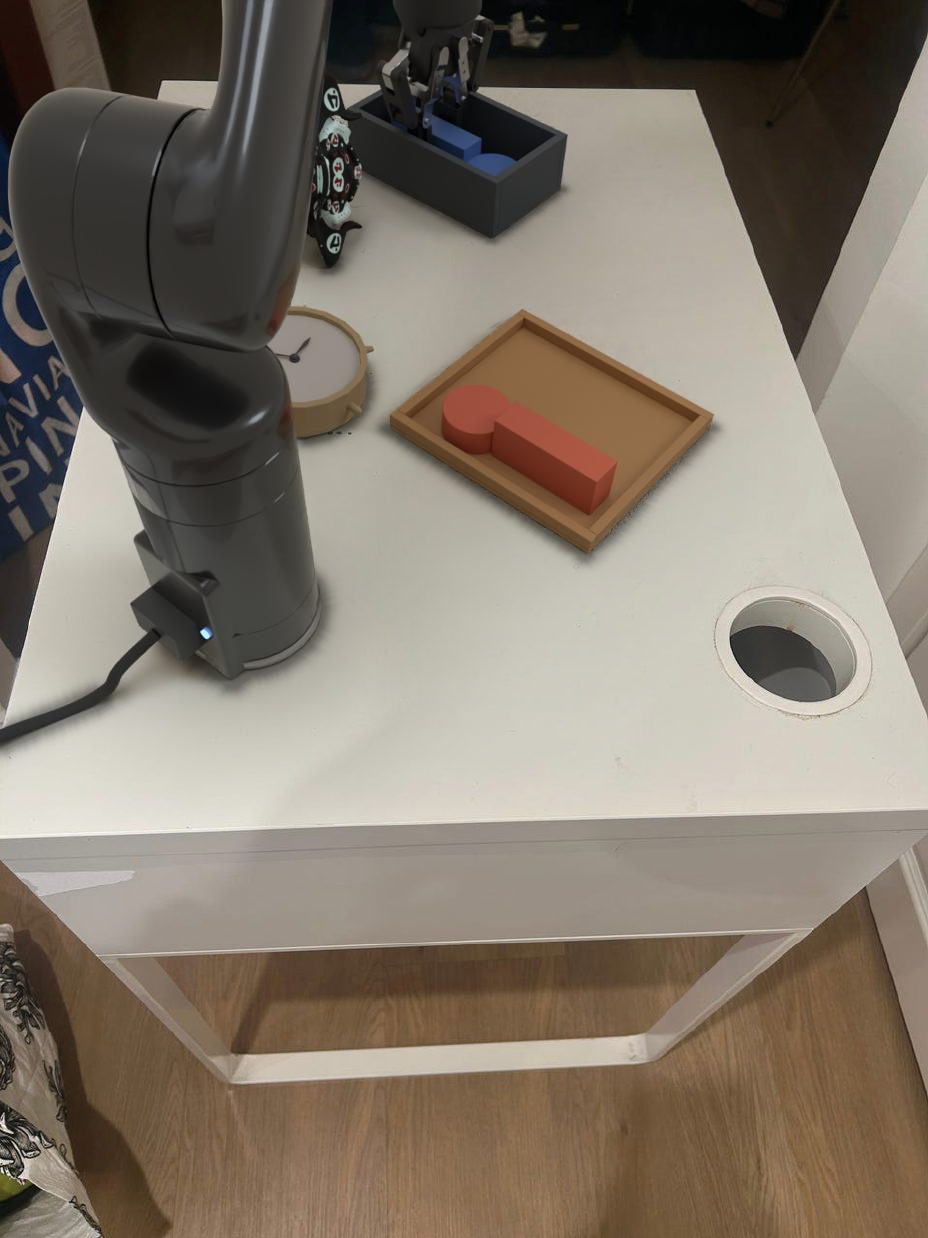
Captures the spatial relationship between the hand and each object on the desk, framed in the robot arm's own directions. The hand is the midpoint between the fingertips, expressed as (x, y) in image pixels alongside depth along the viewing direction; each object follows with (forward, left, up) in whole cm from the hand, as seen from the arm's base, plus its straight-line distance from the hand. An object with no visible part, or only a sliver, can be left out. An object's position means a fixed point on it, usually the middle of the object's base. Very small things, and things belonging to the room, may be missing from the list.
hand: (434, 150), depth 93 cm
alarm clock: (-32, -10, -2) cm, 34 cm away
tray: (-21, -29, -2) cm, 36 cm away
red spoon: (-25, -30, -1) cm, 40 cm away
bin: (0, -2, -2) cm, 3 cm away
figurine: (-17, +3, -2) cm, 17 cm away
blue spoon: (0, -2, -1) cm, 2 cm away
